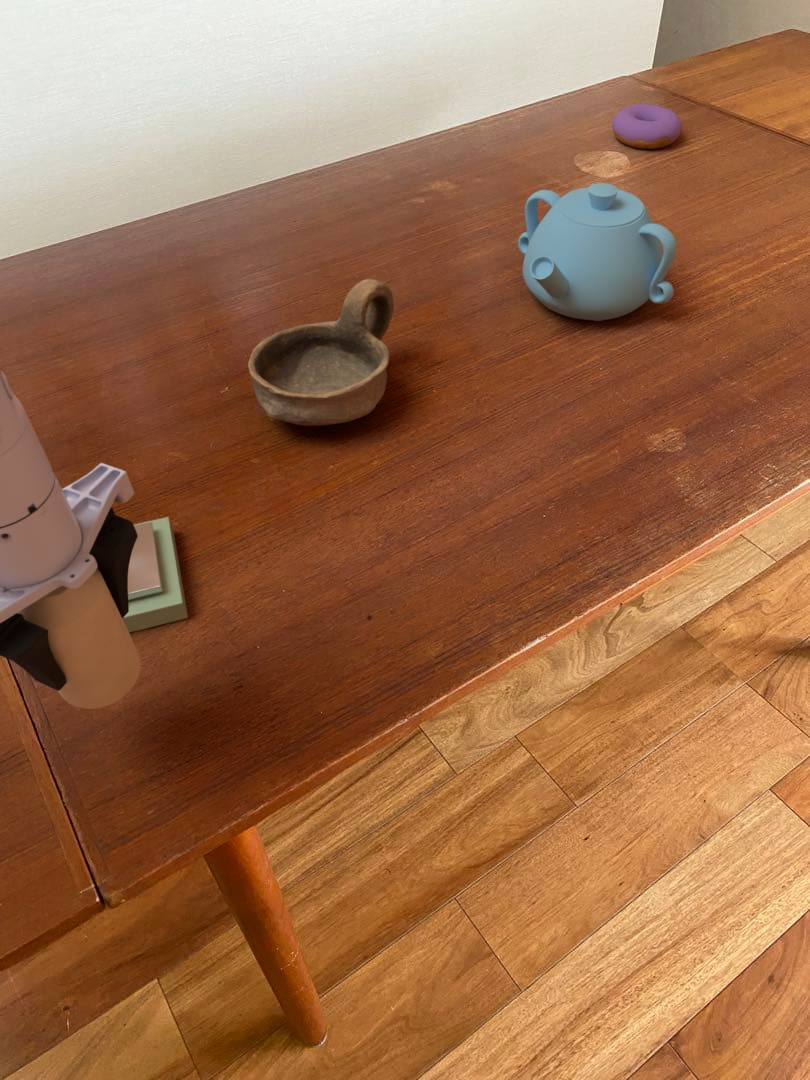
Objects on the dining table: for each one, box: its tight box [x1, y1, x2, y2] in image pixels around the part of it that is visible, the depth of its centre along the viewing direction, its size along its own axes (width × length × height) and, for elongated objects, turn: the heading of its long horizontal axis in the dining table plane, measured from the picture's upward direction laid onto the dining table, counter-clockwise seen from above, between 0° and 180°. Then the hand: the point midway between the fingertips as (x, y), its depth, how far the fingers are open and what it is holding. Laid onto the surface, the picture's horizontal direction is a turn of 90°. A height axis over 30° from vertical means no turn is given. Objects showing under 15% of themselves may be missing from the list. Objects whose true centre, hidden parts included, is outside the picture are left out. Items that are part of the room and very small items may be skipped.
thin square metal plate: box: [128, 522, 163, 600], centre depth 70 cm, size 7×7×1 cm
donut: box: [611, 103, 682, 150], centre depth 126 cm, size 10×9×5 cm
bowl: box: [247, 278, 395, 427], centre depth 84 cm, size 14×18×10 cm
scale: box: [122, 516, 189, 634], centre depth 71 cm, size 10×10×2 cm
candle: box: [18, 569, 142, 710], centre depth 54 cm, size 6×6×10 cm
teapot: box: [517, 182, 677, 322], centre depth 94 cm, size 20×20×13 cm
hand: (83, 644), depth 55 cm, fingers closed on candle, 5 cm apart
